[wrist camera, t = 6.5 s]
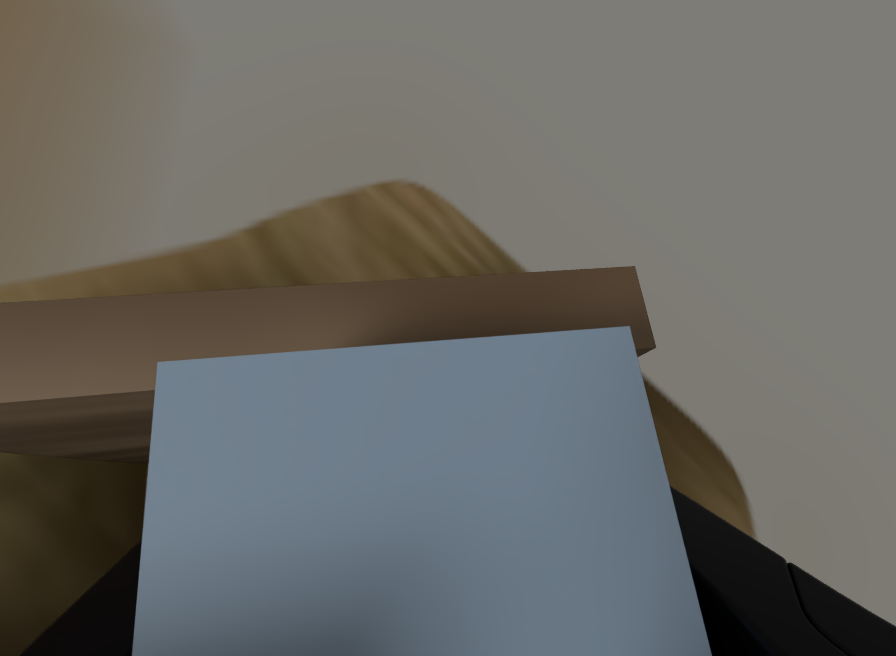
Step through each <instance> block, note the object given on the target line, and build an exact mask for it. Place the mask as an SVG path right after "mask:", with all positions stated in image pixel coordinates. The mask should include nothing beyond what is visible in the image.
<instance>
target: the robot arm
mask: <svg viewBox="0 0 896 656" xmlns="http://www.w3.org/2000/svg"><path fill="white" fill-rule="evenodd" d="M669 486H670V485H669ZM670 490H671V494H672V498H673V502H674V506H675V510H676V514H677V518H678V522H679V526H680V530H681V534H682V538H683V542H684V546H685V550H686V554H687V558H688V562H689V566H690V570H691V574H692V578H693V582H694V586H695V590H696V594H697V598H698V602H699V606H700V610H701V614H702V618H703V622H704V626H705V630H706V634H707V638H708V642H709V646H710V650H711V654H712V656H896V626H894V625H892V624H891V623H889V622H887V621H885V620H884V619H882V618H880V617H879V616H877V615H875V614H873V613H872V612H870V611H868V610H867V609H865V608H864V607H862V606H860V605H859V604H857V603H855V602H854V601H852V600H851V599H849V598H847V597H845V596H844V595H842V594H841V593H839V592H837V591H836V590H834V589H833V588H831V587H829V586H828V585H826V584H824V583H823V582H821V581H820V580H818V579H816V578H815V577H813V576H812V575H810V574H809V573H807V572H805V571H804V570H802V569H801V568H799V567H798V566H796V565H794V564H793V563H787V562H786V560H785V559H784V558H783V557H781V556H780V555H778V554H777V553H775V552H774V551H772V550H770V549H769V548H767V547H766V546H764V545H763V544H761V543H759V542H758V541H756V540H755V539H753V538H752V537H750V536H748V535H747V534H745V533H744V532H742V531H741V530H739V529H737V528H736V527H734V526H733V525H731V524H729V523H728V522H726V521H725V520H723V519H722V518H720V517H718V516H717V515H715V514H714V513H712V512H711V511H709V510H707V509H706V508H704V507H703V506H701V505H700V504H698V503H696V502H695V501H693V500H692V499H690V498H689V497H687V496H685V495H684V494H682V493H681V492H679V491H677V490H676V489H674V488H673V487H671V486H670ZM141 547H142V540H141V541H140V542H138V543H137V544H136V545H135V546H134V547H133V548H132V549H131V550H130V551H129V552H128V553H127V554H126V555H125V556H124V557H122V558H121V559H120V560H119V561H118V562H117V563H116V564H115V565H114V566H113V567H112V568H111V569H110V570H109V571H108V572H106V573H105V574H104V575H103V576H102V577H101V578H100V579H99V580H98V581H97V582H96V583H95V584H94V585H93V586H92V587H90V588H89V589H88V590H87V591H86V592H85V593H84V594H83V595H82V596H81V597H80V598H79V599H78V600H77V601H76V602H75V603H73V604H72V605H71V606H70V607H69V608H68V609H67V610H66V611H65V612H64V613H63V614H62V615H61V616H60V617H59V618H57V619H56V620H55V621H54V622H53V623H52V624H51V625H50V626H49V627H48V628H47V629H46V630H45V631H44V632H43V633H41V634H40V635H39V636H38V637H37V638H36V639H35V640H34V641H33V642H32V643H31V644H30V645H29V646H28V647H27V648H25V649H24V650H23V651H22V652H21V653H20V654H19V655H18V656H132V650H133V639H134V627H135V616H136V604H137V593H138V581H139V570H140V558H141Z"/></svg>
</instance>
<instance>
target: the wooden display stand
mask: <svg viewBox="0 0 896 656" xmlns="http://www.w3.org/2000/svg"><path fill="white" fill-rule="evenodd" d="M625 326H630V330H631V334H632V338H633V342H634V346H635V350H636V354H637V357H639V356H641V355H643V354H645V353H647V352H648V351H650V350H652V349H654V348H656V345H655V341H654V338H653V334H652V330H651V326H650V322H649V319H648V315H647V311H646V308H645V303H644V299H643V296H642V292H641V288H640V284H639V280H638V276H637V273H636V269H635V266H632V267H615V268H597V269H579V270H562V271H546V272H527V273H510V274H493V275H475V276H458V277H441V278H424V279H406V280H389V281H372V282H354V283H337V284H320V285H302V286H285V287H268V288H250V289H233V290H216V291H198V292H181V293H164V294H146V295H129V296H112V297H94V298H77V299H60V300H43V301H25V302H8V303H0V452H3V453H15V454H28V455H40V456H52V457H65V458H77V459H90V460H102V461H114V462H127V463H139V464H147V474H146V486H145V498H144V510H143V522H142V534H141V540H142V535H143V524H144V512H145V501H146V489H147V478H148V466H149V455H150V443H151V432H152V420H153V409H154V397H155V386H156V374H157V363H158V362H165V361H178V360H191V359H205V358H218V357H231V356H244V355H257V354H270V353H283V352H296V351H310V350H323V349H336V348H349V347H362V346H375V345H388V344H401V343H415V342H428V341H441V340H454V339H467V338H480V337H493V336H506V335H520V334H533V333H546V332H559V331H572V330H585V329H598V328H611V327H625Z"/></svg>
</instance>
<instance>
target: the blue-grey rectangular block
mask: <svg viewBox="0 0 896 656" xmlns="http://www.w3.org/2000/svg"><path fill="white" fill-rule="evenodd" d="M132 656H712V654H711V650H710V646H709V642H708V638H707V634H706V630H705V626H704V622H703V618H702V614H701V610H700V606H699V602H698V598H697V594H696V590H695V586H694V582H693V578H692V574H691V570H690V566H689V562H688V558H687V554H686V550H685V546H684V542H683V538H682V534H681V530H680V526H679V522H678V518H677V514H676V510H675V506H674V502H673V498H672V494H671V490H670V486H669V482H668V478H667V474H666V470H665V466H664V462H663V458H662V454H661V450H660V446H659V442H658V438H657V434H656V430H655V426H654V422H653V418H652V414H651V410H650V406H649V402H648V398H647V394H646V390H645V386H644V382H643V378H642V374H641V370H640V366H639V363H638V358H637V354H636V350H635V346H634V342H633V338H632V334H631V330H630V326H625V327H611V328H598V329H585V330H572V331H559V332H546V333H533V334H520V335H506V336H493V337H480V338H467V339H454V340H441V341H428V342H415V343H401V344H388V345H375V346H362V347H349V348H336V349H323V350H310V351H296V352H283V353H270V354H257V355H244V356H231V357H218V358H205V359H191V360H178V361H165V362H158V363H157V374H156V386H155V397H154V409H153V420H152V432H151V443H150V455H149V466H148V478H147V489H146V501H145V512H144V524H143V535H142V547H141V558H140V570H139V581H138V593H137V604H136V616H135V627H134V639H133V650H132Z"/></svg>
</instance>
